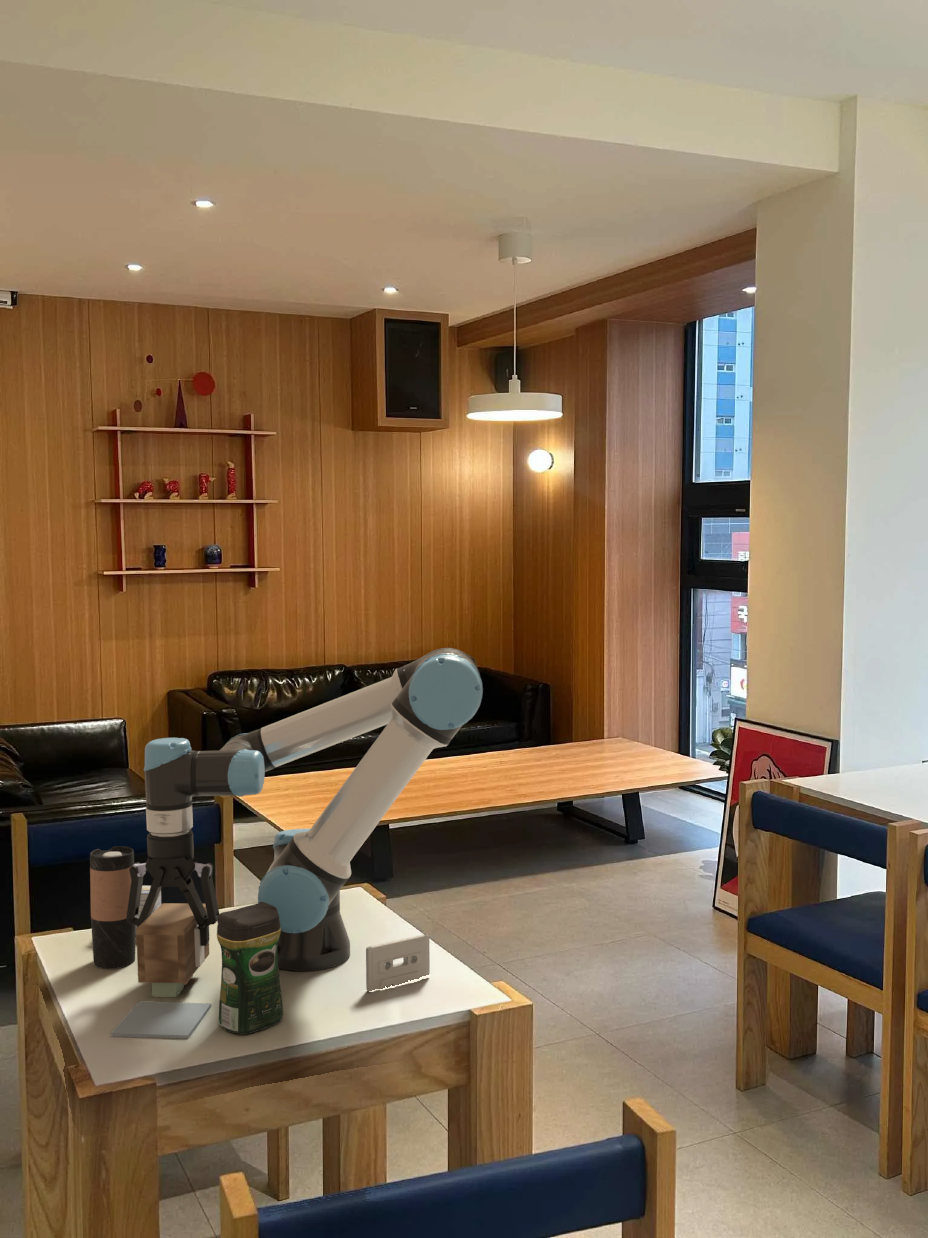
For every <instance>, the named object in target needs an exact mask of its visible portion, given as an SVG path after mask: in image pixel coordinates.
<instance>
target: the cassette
mask: <svg viewBox="0 0 928 1238" xmlns="http://www.w3.org/2000/svg"><path fill="white" fill-rule="evenodd" d="M430 954H431V953H430V935H428V934H427V933H424V934H421V935H415V936H411V937H406V938H401V939H398V940H394V941H393V940H392V941H390V942H384V943H379V944H375V945H370V946H367V947H366V949H365V971H366V972H365V978H366V979H365V981H366V982H365V986H366V987H365V988H366V990H367V991H372V990H375V989H383V988H385V986H386V987H387V988H388V987H390V986H391V985H392V986H395V985H399V984H402V983H405V982H408V980H410V981H411V980H414V979H419V978H420V977H422V976H426V975H429V974H431V973H430V969H431V968H430V964H431V963H430V958H431V957H430V956H431V955H430ZM398 959H403V962H398V963H394V961H395V960H398ZM367 991H366V992H367Z"/></svg>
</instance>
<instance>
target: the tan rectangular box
mask: <svg viewBox="0 0 928 1238" xmlns="http://www.w3.org/2000/svg"><path fill="white" fill-rule="evenodd" d="M202 904H203V906H204V908H205V911H206V913H207V910H206V905H205V903H202ZM197 925H198V924H197V921H196V919H195V917H194V915H193V913H192V911H191V909H190V907H189V904H188V902H187V903H185V902H184V903H183V902H182V903H180V902H179V903H172V902H171V903H166V902H164V903H161V905H160V906H159V907H158V908H157V909H156V910H155V911H154V912H153V913H152V914H151V915H150V916H149V917H148V918H147V919H146V920H145V921H144V922H143V923H142V924H141V925H140V926H139V927H138V928H136V958H137V981H138V982H137V983H141V984H144V983H148V984H149V983H150V984H152V983H187V981H188V980H189V979H190V978H191V976H192V975H193V976H194V974H195V973H196V972H197V970H198V969H199V968H200V967H196V965H195V936H194V929H195V928H196V926H197ZM209 955H210V942H209V943H208V944H207V945H206V946H204V957H205V960H206V959H207V958H208V957H209ZM191 979H192V978H191ZM191 979H190V980H191ZM190 980H189V981H190ZM189 981H188V982H189ZM187 984H188V983H187Z"/></svg>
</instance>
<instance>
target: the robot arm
mask: <svg viewBox="0 0 928 1238" xmlns="http://www.w3.org/2000/svg"><path fill="white" fill-rule="evenodd" d="M483 691H484V688H483V681H482V678H481V673H480V671H479V668H478V666H477V664H476V662H475V661H474V659H472V657H471V656H470V655H468V654H467V653H465V651H461V650H460V649H457V648H452V647H442V648H437V649H434V650H432V651H430V652H428V653H426V654H425V655H423V656H421V657H419V658H418V659H416V660H414V661H412V662H410V663H408V664H405V665H403V666H400V667H398V668H395V670H394V671H393V674H392V676H391V677H388V678H385V679H382V680H381V681H378V682H375V683H372V684H370V685H368V686H365V687H362V688H360V689H357V690H355V691H352V692H349V693H347V694H345V695H342V696H339V697H337V698H334V699H332V700H329V701H326V702H323V703H322V704H319V705H317V706H314V707H312V708H309V709H307V710H304V711H301V712H298V713H296V714H294V715H291V716H288V717H286V718H283V719H281V720H278V721H276V722H274V723H270V724H268V725H265V726H263V727H261V728H259V729H255V730H252V731H250V732H247V733H245V732H244V733H239V734H237V735H235V736H233V737H231V738H230V739H229V740H228V741H227V742H226V743H225V744H224V745H223V747H221V748H220V749H219V750H203V751H202V750H192V749H193V748H192V747H191V743H190V740H189V739H187V738H184V737H180V738H179V737H163V738H156V739H153V740H150V741H148V743H146V745H145V746H144V747H145V748H144V767H143V772H144V786H145V788H144V789H145V805H146V806H145V816H146V831H148V832H149V833H148V834H147V836H146V845H147V846H146V848H147V849H146V851H147V860H146V862H144V863H140V862H134V865H133V866H132V867H130V869H129V871H130V876H131V888H130V895H129V902H128V910H127V917H126V922H127V923H128V924H131V923H132V924H135V925H136V926H137V927H139V926H140V925H141V924H142V923H143V922H144V921H145V920H146V919H147V918H148V917H149V916H150V915H151V913H152V911H153V908H154V906H155V903H156V901H157V898H158V896H159V893H160V891H161V892H162V888H168V887H173V888H179V890H180V892H181V893H182V894H183V896H184V898H185V900H186V902H187V903H188V904H189V907H190V909H191V911H192V913H193V915H194V917H195V919H196V921H197V924H198V925H197V926H196V928H195V929H194V936H195V965H196V967H199V968H201V967H202V965H203V963H204V962H205V960H206V959H205V957H204V946H206V945H207V944H208V943H209V944H210V926H211V925H215V924H216V923H217V921H218V916H219V915H220V909H219V905H218V901H217V900H218V899H217V895H216V891H215V886H214V882H213V881H214V880H213V870H214V864H213V863H211V862H207V863H205V864H204V863H199V862H197V860H196V858H195V855H194V854H195V849H194V847H195V846H194V843H195V842H194V832H193V830H192V828H193V827H194V825H193V824H194V822H193V821H194V820H193V819H194V818H193V817H194V816H193V815H194V814H193V797H212V796H213V797H216V796H217V797H218V796H219V797H232V796H234V797H244V796H254V795H255V796H256V795H258V794H260V793H261V792H262V790H263V788H264V784H265V777H266V776H265V775H266V774H265V773H266V772H268V771H271V770H273V769H275V768H277V767H280V766H282V765H285V764H287V763H291V762H293V761H295V760H298V759H300V758H303V757H306V756H309V755H312V754H313V753H314V754H315V753H316V752H319V751H321V750H324V749H327V748H329V747H332V746H335V745H336V744H340V743H342V742H344V741H348V740H351V739H353V738H355V737H358V736H361V735H362V734H366V733H368V732H371V731H374V730H376V729H379V728H381V727H384V728H383V730H382V731H381V733H380V734H379V735H378V737H377V738H376V740H375V741H374V742H373V743H372V745H371V746H370V748H368V750H367V752H366V753H365V754H364V755H363V757H362V758H361V760H360V761H359V763H358V764H357V765H356V767H355V768H354V769H353V770H352V772H351V774H350V775H349V776H348V777H347V778H346V780H345V781H344V783H343V784H342V785H341V786H340V789H338V791H337V792H336V794H335V795H333V798H331V800H330V802H329V803H328V804H327V806H326V807H325V808H324V810H323V811H322V813H321V814H320V815H319V816H318V818H317V819H316V821H315V822H314V823H313V825H312V826H311V827H310V828H296V829H294V828H293V829H288V830H287V829H286V830H281V831H279V832H277V833H276V834H275V835H274V840H273V845H272V848H273V850H274V851H273V853H274V854H273V855H274V857H273V861H272V863H271V864H270V866H269V868H268V870H267V871H266V874H265V875H264V876H263V877H262V879H261V881H260V882H259V886H258V892H257V903H260V902H265V903H267V904H270V905H272V906H274V907H276V908H277V911H278V913H279V920H280V926H281V932H280V936H279V940H278V947H277V957H278V969H282V970H285V971H286V970H287V971H296V972H308V971H319V970H325V969H329V968H333V967H335V966H338V965H341V964H343V963H345V962H346V961H347V960H348V959H349V957H350V956H351V942H350V939H349V935H348V932H347V928H346V927H345V926H346V925H345V923H344V920H343V918H342V915H341V889H342V888H343V886H345V884H346V883H347V881H348V880H349V878H350V877H351V875H352V869H351V863H350V862H351V861H352V860H353V858H354V856H355V855H356V854H357V853H358V851H359V850H360V848H361V847H362V845H363V844H364V843H365V841H367V839H368V838H369V837H370V835H371V834H372V833H373V831H374V829H375V828H376V827H377V826H378V824H380V822H381V820H382V819H383V818H384V817H385V815H386V814H387V812H388V811H389V809H390V808H391V807H392V805H393V804H394V803H395V801H396V800H397V799H398V797H399V796H400V794H401V793H402V792H403V790H404V789H405V788H406V787H407V786H408V784H409V783H410V782H411V780H412V778H413V777H414V776H415V775H416V773H417V772H418V770H419V769H420V768H421V766H422V765H423V763H424V762H425V761H426V759H428V756H429V755H430V754H431V752H433V750H434V749H438V748H443V747H445V748H446V747H447V746H449V744H450V743H451V741H452V740H453V738H454V737H455V735H457V733H458V732H459V731H460V729H461V728H462V726H464V725H465V724H467V723H468V722H469V721H470V720H472V719H473V717H474V716H475V715H476V713H477V712H478V710H479V708H480V706H481V703H482V700H483V693H484V692H483ZM195 871H196V873H197V877H199V878H200V885H201V891H202V894H203V895H202V896H203V899H204V903H203V902H202V900H201V898H200V895H199V894H198V892H197V890H196V887H195V883H194V880H193V878H192V874H193V873H194V872H195ZM146 872H147V873H148V874H149V875H150V877H151V878H152V879H153V880H152V882H151V885H150V886H151V887H150V891H149V894H148V896H147V899H146V901H145V904H144V906H143V909H142V911H141V914H140V915H138V913H139V906H140V899H141V891H142V886H143V882H144V876H145V875H146ZM203 904H205V905H206V910H207V913H206V911H205V908H204V906H203Z"/></svg>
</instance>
